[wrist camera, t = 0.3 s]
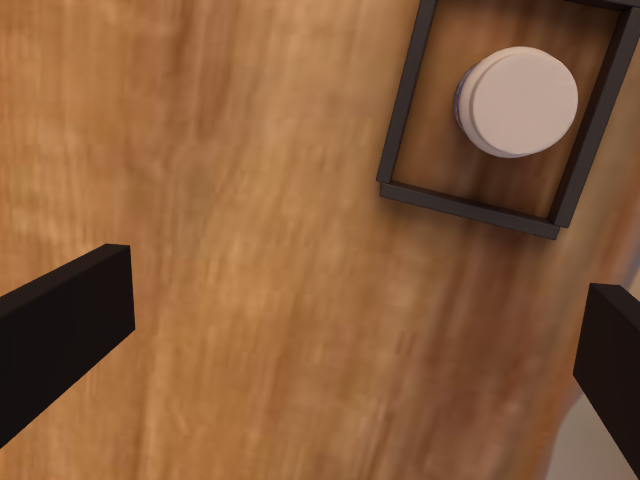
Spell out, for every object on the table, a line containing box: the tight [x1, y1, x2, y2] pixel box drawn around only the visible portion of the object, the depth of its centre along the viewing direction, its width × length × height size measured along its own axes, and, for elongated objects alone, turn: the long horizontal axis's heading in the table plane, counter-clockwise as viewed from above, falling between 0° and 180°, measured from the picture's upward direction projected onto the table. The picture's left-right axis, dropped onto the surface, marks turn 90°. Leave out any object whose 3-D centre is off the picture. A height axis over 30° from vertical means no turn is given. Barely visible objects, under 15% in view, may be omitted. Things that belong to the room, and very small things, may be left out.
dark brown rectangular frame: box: [376, 0, 640, 240], centre depth 28 cm, size 13×11×2 cm
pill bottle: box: [453, 47, 578, 158], centre depth 24 cm, size 5×5×8 cm
